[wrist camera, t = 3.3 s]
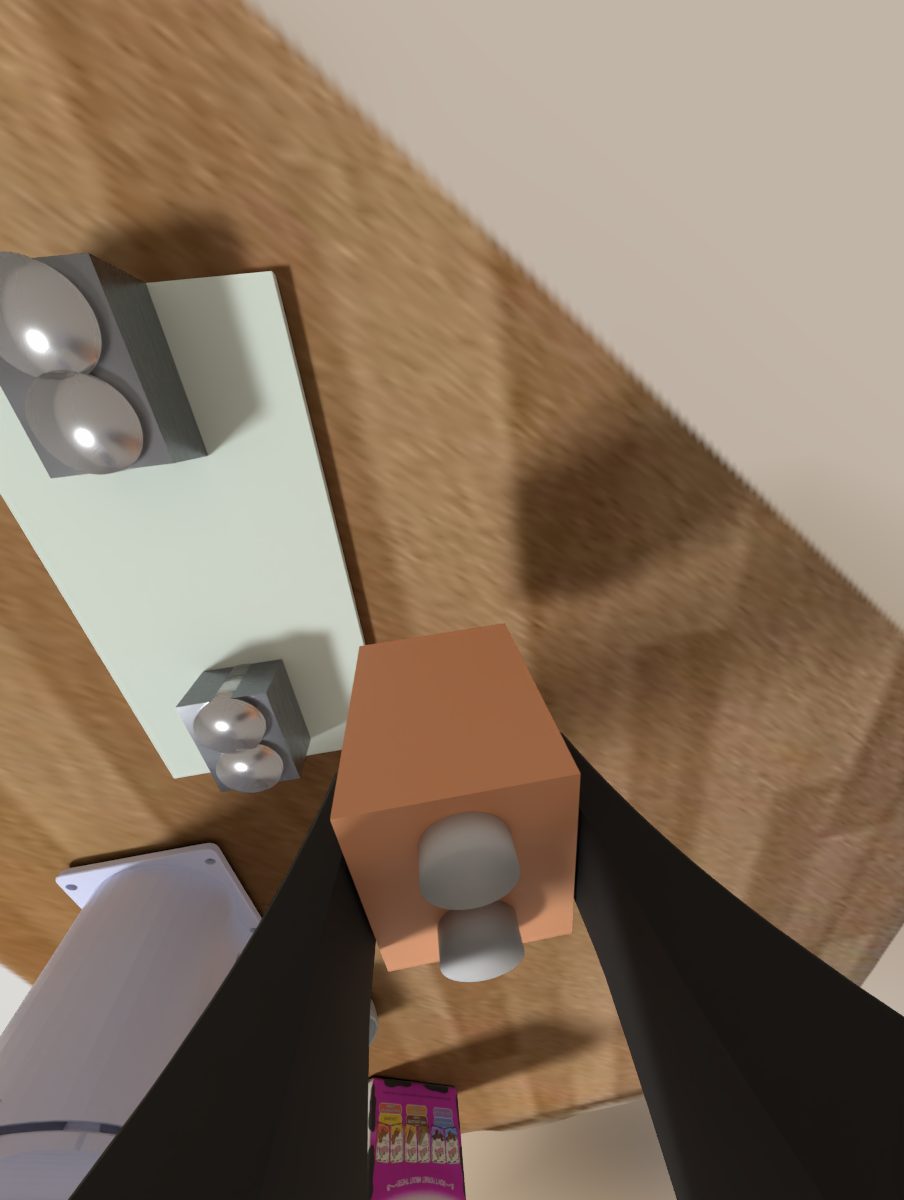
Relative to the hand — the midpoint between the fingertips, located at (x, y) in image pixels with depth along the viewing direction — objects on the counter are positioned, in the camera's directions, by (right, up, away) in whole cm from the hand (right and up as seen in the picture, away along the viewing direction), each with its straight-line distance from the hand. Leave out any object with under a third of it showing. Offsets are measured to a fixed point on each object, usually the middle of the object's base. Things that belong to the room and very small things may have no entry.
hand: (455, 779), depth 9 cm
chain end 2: (-9, 0, +8) cm, 11 cm away
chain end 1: (-10, +11, +2) cm, 15 cm away
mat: (-9, +5, +5) cm, 12 cm away
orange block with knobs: (0, +1, +2) cm, 3 cm away
